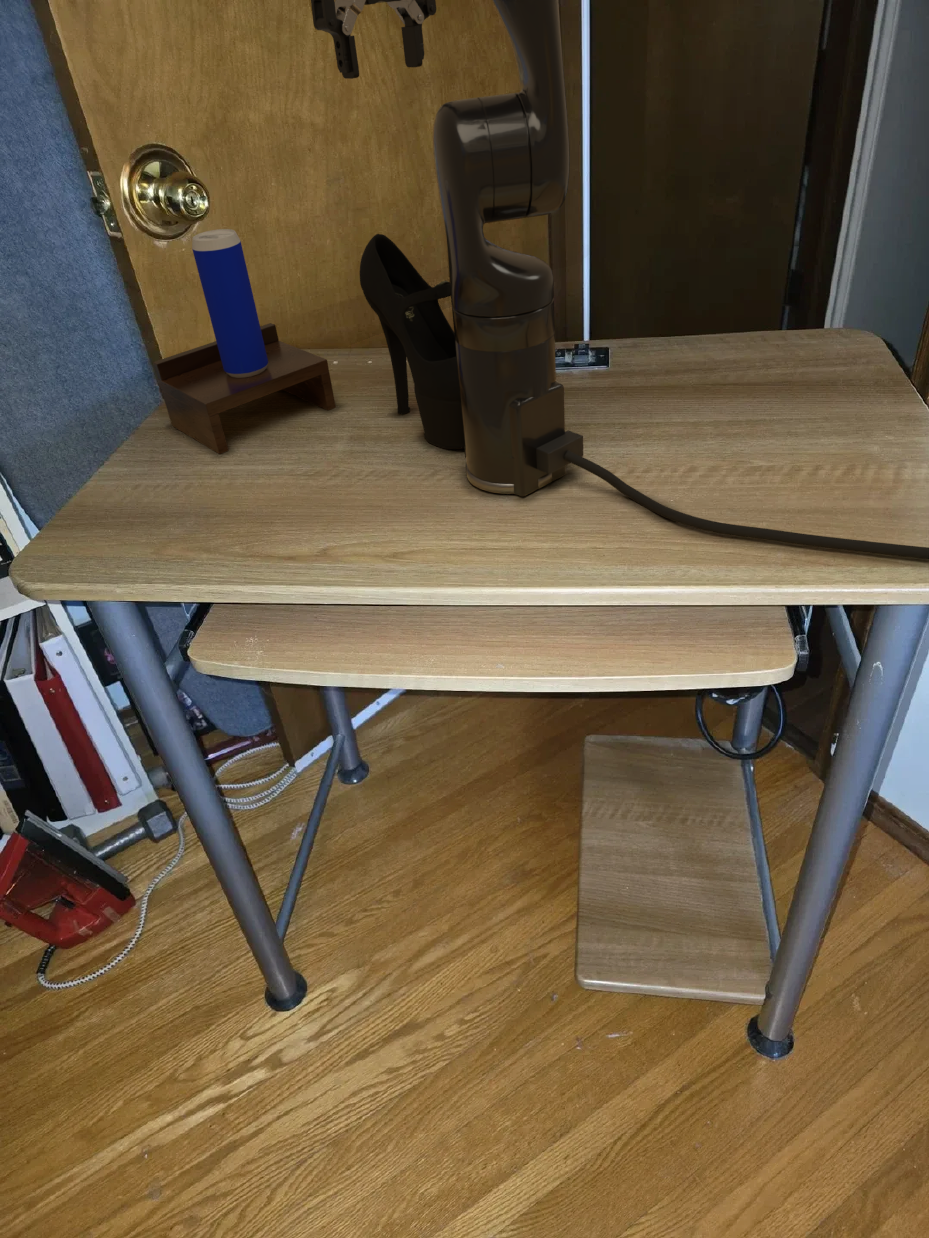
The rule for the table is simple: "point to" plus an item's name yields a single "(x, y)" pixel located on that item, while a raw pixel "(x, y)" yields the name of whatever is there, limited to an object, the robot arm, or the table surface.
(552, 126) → the robot arm
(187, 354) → the shelf
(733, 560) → the table surface
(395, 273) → the high-heeled shoe
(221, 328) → the beverage can
